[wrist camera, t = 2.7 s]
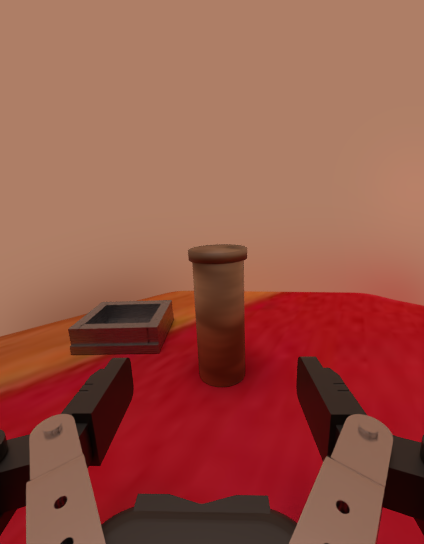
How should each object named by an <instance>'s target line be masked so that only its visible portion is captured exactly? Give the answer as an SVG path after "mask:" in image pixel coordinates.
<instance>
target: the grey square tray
mask: <svg viewBox="0 0 424 544" xmlns="http://www.w3.org/2000/svg"><path fill="white" fill-rule="evenodd" d="M173 320H174V317H173V311H172V300H163V301H129V302H128V301H127V302H102V303H100V304H99V305H98V306H97V307H95V308H94V309H93V310H92V311H90V312H89V313H88V314H87V315H85V316H84V317H83V318H82V319H80V320H79V321H78V322H76V323H75V324H74V325H73V326H71V327H70V328H69V329H68V331H69V336H70V341H71V346H70V350H71V355H85V354H140V353H159V352H160V350H161V347H162V345H163V343H164V340H165V338H166V336H167V333H168V331H169V329H170V326H171V324H172V322H173Z"/></svg>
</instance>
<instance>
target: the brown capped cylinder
mask: <svg viewBox="0 0 424 544" xmlns="http://www.w3.org/2000/svg"><path fill="white" fill-rule="evenodd" d="M188 256H189V261H191V262H192V263H193V279H194V295H195V311H196V327H197V343H198V359H199V374H200V378H201V379H202V380H203V381H204V382H205V383H207V384H209V385H211V386H215V387H228V386H232V385H235V384H237V383H239V382H240V381H241V380H242V379H243V378H244V376H245V331H244V265H243V264H244V260H245V259H247V247H245V246H241V245H206V246H199V247H194V248H191V249H189V250H188Z"/></svg>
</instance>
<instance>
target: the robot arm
mask: <svg viewBox="0 0 424 544" xmlns="http://www.w3.org/2000/svg"><path fill="white" fill-rule="evenodd" d="M297 395H298V399H299V402H300V405H301V407H302V410H303V412H304V415H305V417H306V420H307V422H308V425H309V427H310V430H311V432H312V435H313V437H314V440H315V442H316V445H317V447H318V450H319V452H320V455H321V457H322V460H323V464H322V467H321V469H320V471H319V474H318V476H317V478H316V481H315V483H314V486H313V488H312V490H311V493H310V495H309V497H308V500H307V502H306V504H305V507H304V509H303V512H302V514H301V516H300V519H299V521H298V523H296V522H295V521H293V520H292V519H291V518H289V517H287V516H286V515H284V514H282V513H280V512H278V511H275V510H272V509H270V506H269V500H268V496H252V495H235V496H231V497H227V498H224V499H220V500H216V501H213V502H209V503H205V504H198V503H195V502H192V501H189V500H186V499H183V498H180V497H176V496H173V495H170V494H138V496H137V499H136V503H135V506H134V507H132V508H129V509H127V510H124V511H122V512H120V513H118V514H116V515H114V516H113V517H111V518H110V519H108V520H107V521H105V522H104V523H103V524H102V525H101V523H100V519H99V514H98V510H97V506H96V502H95V498H94V494H93V490H92V486H91V482H90V478H89V474H88V470H87V468H88V466H100V465H101V463H102V461H103V459H104V457H105V455H106V452H107V450H108V448H109V446H110V444H111V442H112V440H113V438H114V436H115V434H116V431H117V429H118V427H119V425H120V423H121V421H122V419H123V417H124V415H125V412H126V410H127V408H128V406H129V404H130V402H131V400H132V396H133V378H132V370H131V362H130V359H129V358H112V359H111V360H110V362H109V363H108V365H107V366H106V367H105V369H100V370H98V371H97V372H95V373H94V374H93V375H91V376H90V377H89V379H88V380H87V381H86V382H85V385H83V386H82V388H81V389H80V390H79V392H78V393H77V394H76V395H75V396H74V398H73V399H72V400H71V402H70V403H69V404H68V405H67V407H66V408H65V409H64V410H63V412H62V413H61V414H59V415H55V416H52V417H50V418H48V419H46V420H44V421H42V422H41V423H40V424H38V425H37V426H36V427H35V428H34V429H33V431H32V432H31V434H30V435H26V436H22V437H18V438H14V439H10V440H6V436H5V433H4V431H2V430H0V535H1V534H2V532H3V530H4V529H5V527H6V526H7V524H8V522H9V521H10V519H11V518H12V516H13V515H14V513H15V511H16V510H17V509H18V508H21V507H24V506H26V544H377V538H378V532H379V526H380V520H381V514H382V508H383V507H384V508H387V509H390V510H393V511H396V512H399V513H402V514H405V515H408V516H411V517H414V519H415V521H416V522H417V524H418V526H419V528H420V529H421V531H422V533H423V535H424V435H423V437H422V442H421V443H420V442H416V441H412V440H408V439H404V438H400V437H397V436H394V435H392V433H391V432H390V430H389V429H388V428H387V427H386V426H385V425H384V424H383V423H381V422H380V421H378V420H377V419H375V418H372V417H370V416H367V414H366V413H365V412H364V410H363V409H362V407H361V406H360V404H359V403H358V402H357V400H356V399H355V397H354V396H353V394H352V393H351V392H350V391H349V389H348V387H347V386H346V385H345V383H344V382H343V380H342V379H341V377H340V376H339V375H338V374H337V373H336V372H334V371H333V370H331V369H330V368H323V367H322V365H321V364H320V362H319V361H318V359H317V358H316V357H299V358H298V366H297Z"/></svg>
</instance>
